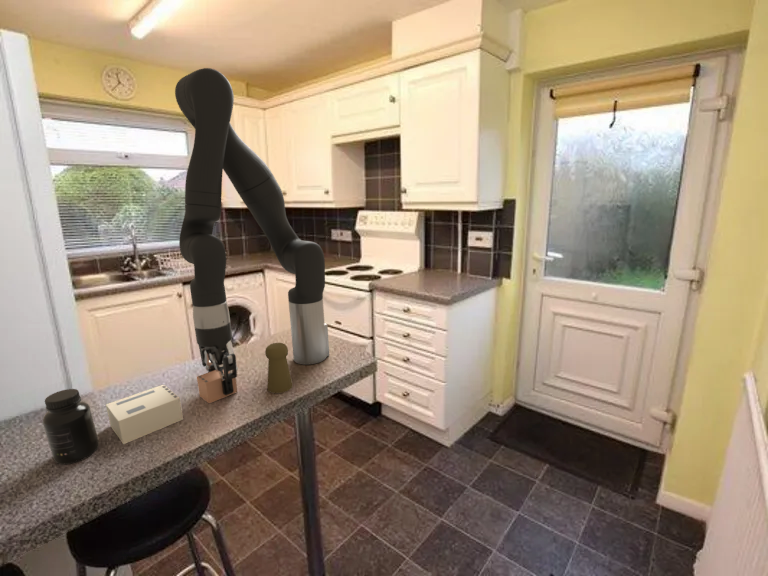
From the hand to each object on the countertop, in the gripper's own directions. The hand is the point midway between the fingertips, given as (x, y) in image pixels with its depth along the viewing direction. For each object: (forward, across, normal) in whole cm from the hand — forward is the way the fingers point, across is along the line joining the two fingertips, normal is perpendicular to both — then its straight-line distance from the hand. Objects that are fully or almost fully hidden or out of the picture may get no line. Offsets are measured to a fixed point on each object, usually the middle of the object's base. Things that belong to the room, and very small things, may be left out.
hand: (221, 388), depth 93 cm
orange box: (+1, 0, +1) cm, 1 cm away
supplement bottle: (+1, -1, +28) cm, 28 cm away
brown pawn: (+1, -8, -11) cm, 13 cm away
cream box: (+1, 0, +16) cm, 16 cm away
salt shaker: (+1, +11, -7) cm, 13 cm away
